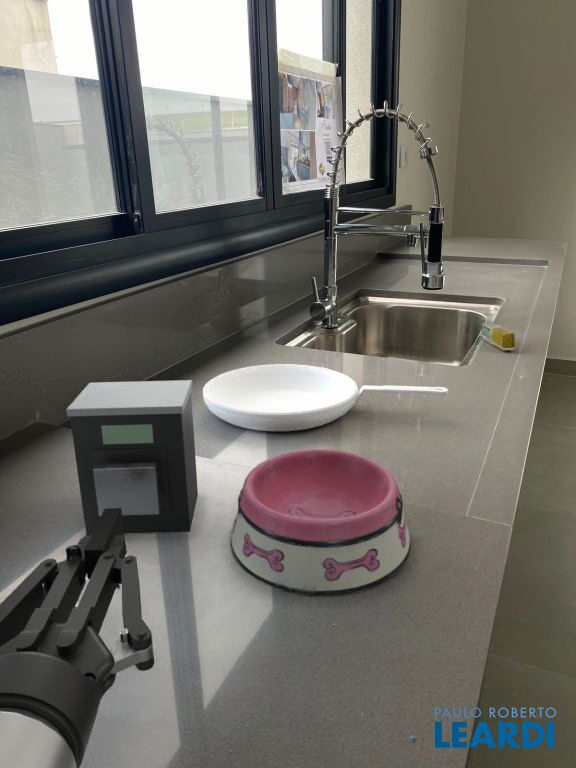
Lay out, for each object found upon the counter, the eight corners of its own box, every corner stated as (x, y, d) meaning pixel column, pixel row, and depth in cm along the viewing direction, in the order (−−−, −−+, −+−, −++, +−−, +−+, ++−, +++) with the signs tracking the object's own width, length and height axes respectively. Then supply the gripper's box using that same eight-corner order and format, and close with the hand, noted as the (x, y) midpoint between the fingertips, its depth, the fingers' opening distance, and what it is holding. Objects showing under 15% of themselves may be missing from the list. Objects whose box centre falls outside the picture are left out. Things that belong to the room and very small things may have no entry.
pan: (224, 382, 112) (223, 360, 111) (439, 389, 107) (440, 366, 106) (183, 435, 89) (181, 408, 87) (455, 448, 83) (458, 419, 82)
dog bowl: (412, 606, 53) (417, 538, 50) (207, 585, 56) (203, 520, 53) (409, 501, 70) (412, 447, 68) (252, 490, 73) (250, 438, 71)
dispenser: (191, 533, 64) (182, 406, 59) (83, 537, 64) (65, 409, 59) (200, 494, 72) (192, 379, 68) (103, 497, 72) (89, 382, 67)
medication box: (481, 339, 140) (480, 322, 139) (492, 337, 141) (492, 321, 139) (503, 351, 129) (503, 333, 128) (515, 350, 129) (515, 331, 128)
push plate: (159, 514, 60) (155, 467, 59) (98, 516, 60) (92, 469, 59) (161, 508, 61) (157, 461, 60) (101, 510, 61) (96, 463, 60)
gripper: (-101, 813, 33) (47, 559, 56) (138, 803, 34) (189, 554, 56) (-133, 706, 31) (35, 486, 53) (124, 697, 31) (184, 482, 54)
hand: (114, 521), depth 55 cm, fingers closed
